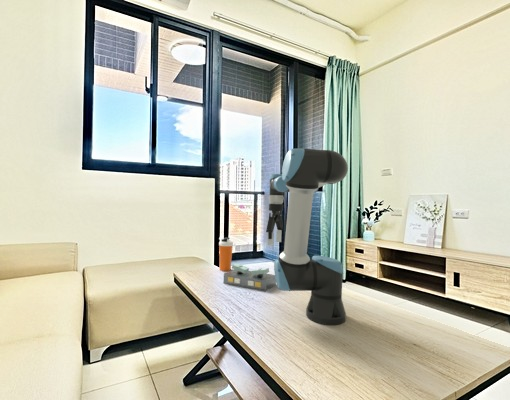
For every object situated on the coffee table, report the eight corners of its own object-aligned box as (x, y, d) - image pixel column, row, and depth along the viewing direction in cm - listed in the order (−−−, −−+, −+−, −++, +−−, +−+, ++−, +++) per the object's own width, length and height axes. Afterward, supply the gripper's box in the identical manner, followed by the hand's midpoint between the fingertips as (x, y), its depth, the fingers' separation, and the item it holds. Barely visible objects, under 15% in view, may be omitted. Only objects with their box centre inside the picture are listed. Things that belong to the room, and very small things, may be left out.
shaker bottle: (233, 268, 181) (234, 237, 181) (230, 271, 172) (231, 239, 172) (219, 267, 182) (220, 237, 182) (216, 270, 173) (217, 238, 173)
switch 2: (265, 273, 142) (265, 269, 142) (251, 274, 146) (251, 270, 146) (269, 271, 146) (268, 267, 147) (255, 272, 150) (255, 268, 150)
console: (265, 291, 137) (266, 278, 137) (223, 283, 148) (223, 271, 148) (275, 284, 149) (276, 272, 149) (235, 277, 160) (236, 266, 160)
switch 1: (244, 273, 148) (245, 269, 147) (231, 268, 151) (232, 264, 151) (248, 271, 152) (249, 267, 152) (236, 266, 155) (236, 262, 155)
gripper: (275, 203, 134) (273, 247, 134) (289, 203, 157) (288, 241, 157) (260, 203, 136) (259, 246, 136) (276, 203, 159) (275, 240, 159)
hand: (274, 243), depth 146 cm, fingers open, 13 cm apart
